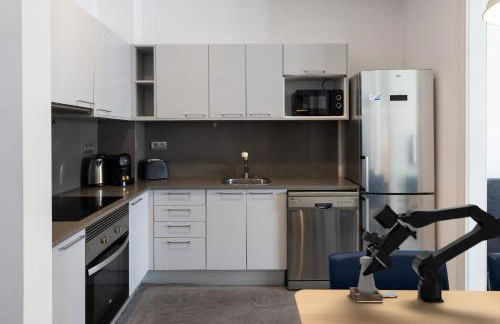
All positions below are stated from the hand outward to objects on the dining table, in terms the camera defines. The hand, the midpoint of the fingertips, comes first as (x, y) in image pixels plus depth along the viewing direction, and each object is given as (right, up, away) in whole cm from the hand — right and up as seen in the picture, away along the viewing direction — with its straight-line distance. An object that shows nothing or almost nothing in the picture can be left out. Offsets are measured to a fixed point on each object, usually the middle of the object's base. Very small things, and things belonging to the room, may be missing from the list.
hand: (361, 271), depth 143 cm
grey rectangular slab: (+9, -9, +2) cm, 13 cm away
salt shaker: (+2, -8, 0) cm, 8 cm away
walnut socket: (+1, -9, 0) cm, 9 cm away
